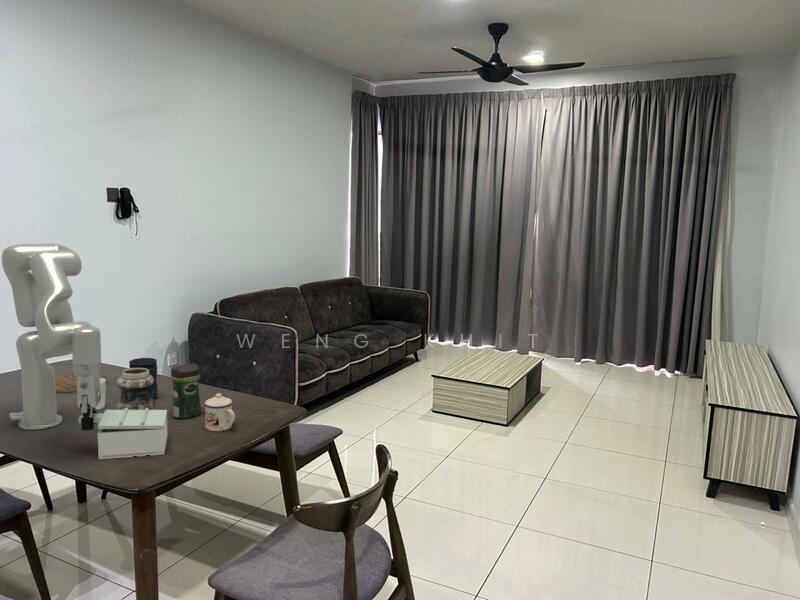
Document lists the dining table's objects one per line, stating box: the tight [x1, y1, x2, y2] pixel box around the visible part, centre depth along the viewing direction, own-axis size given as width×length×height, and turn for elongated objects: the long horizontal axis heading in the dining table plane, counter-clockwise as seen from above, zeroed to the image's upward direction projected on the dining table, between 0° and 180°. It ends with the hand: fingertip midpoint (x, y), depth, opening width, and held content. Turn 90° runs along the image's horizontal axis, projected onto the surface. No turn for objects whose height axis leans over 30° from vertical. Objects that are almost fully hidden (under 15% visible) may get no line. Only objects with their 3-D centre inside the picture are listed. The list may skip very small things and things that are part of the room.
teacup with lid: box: [204, 393, 236, 432], centre depth 205 cm, size 12×9×12 cm
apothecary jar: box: [116, 368, 156, 410], centre depth 208 cm, size 12×12×18 cm
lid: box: [77, 408, 168, 430], centre depth 185 cm, size 24×14×2 cm, turn 107°
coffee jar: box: [170, 362, 202, 420], centre depth 216 cm, size 10×8×19 cm
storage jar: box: [128, 357, 159, 402], centre depth 231 cm, size 10×10×15 cm
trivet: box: [55, 372, 108, 394], centre depth 246 cm, size 25×25×2 cm
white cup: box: [96, 378, 107, 411], centre depth 220 cm, size 8×8×10 cm
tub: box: [97, 414, 168, 460], centre depth 187 cm, size 18×14×8 cm
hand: (89, 426), depth 183 cm, fingers closed on lid, 4 cm apart
